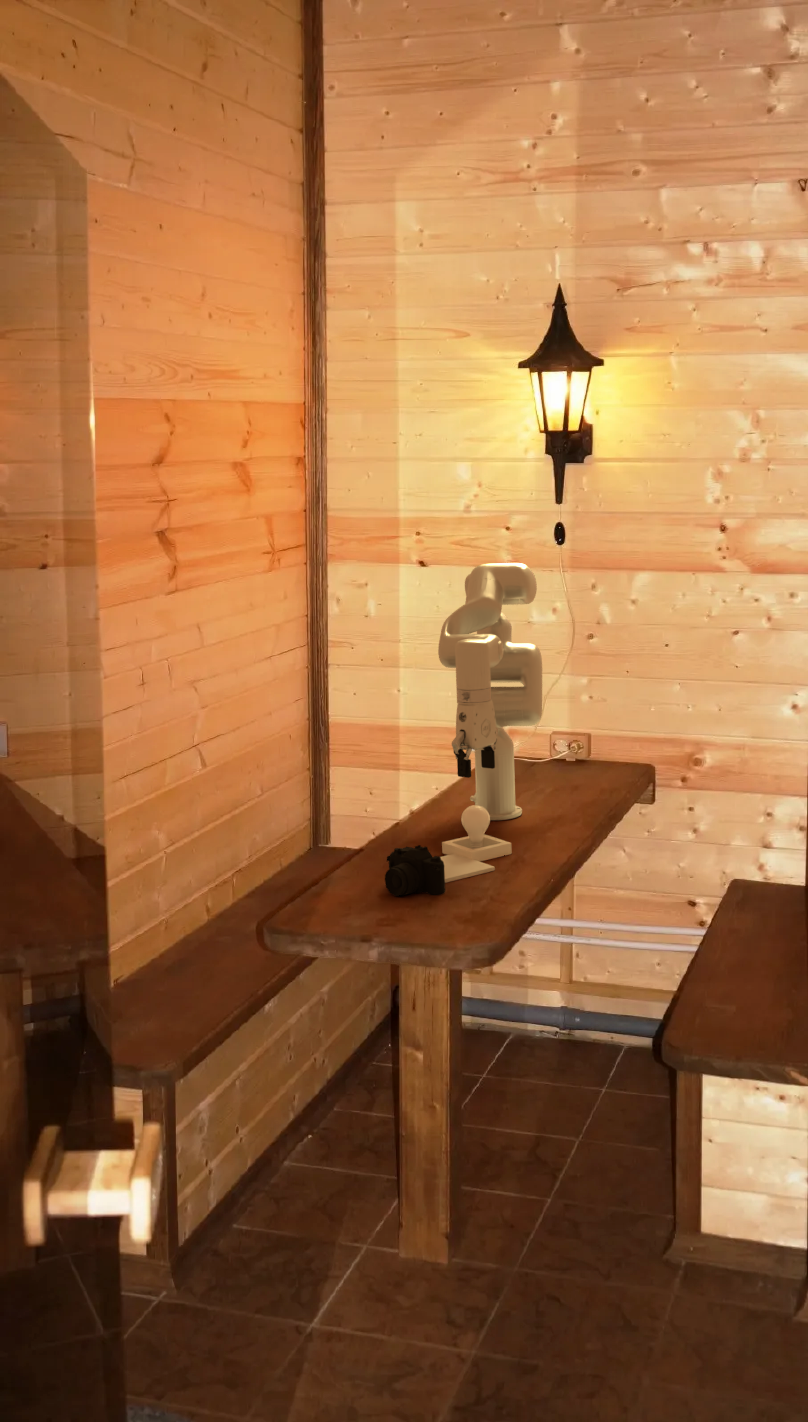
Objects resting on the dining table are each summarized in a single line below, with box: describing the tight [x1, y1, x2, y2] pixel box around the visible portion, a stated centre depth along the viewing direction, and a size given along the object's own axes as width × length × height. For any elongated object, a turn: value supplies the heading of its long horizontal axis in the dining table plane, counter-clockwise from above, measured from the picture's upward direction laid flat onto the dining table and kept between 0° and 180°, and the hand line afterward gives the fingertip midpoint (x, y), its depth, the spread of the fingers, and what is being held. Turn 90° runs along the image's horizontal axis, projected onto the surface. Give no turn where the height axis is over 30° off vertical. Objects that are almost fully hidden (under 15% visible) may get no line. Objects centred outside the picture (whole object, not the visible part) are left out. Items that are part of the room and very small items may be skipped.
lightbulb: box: [460, 804, 491, 849], centre depth 325 cm, size 6×6×11 cm
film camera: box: [384, 845, 446, 897], centre depth 301 cm, size 15×10×9 cm, turn 44°
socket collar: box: [441, 833, 513, 862], centre depth 326 cm, size 11×11×2 cm
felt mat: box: [439, 854, 496, 884], centre depth 315 cm, size 14×14×1 cm
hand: (476, 772), depth 323 cm, fingers open, 9 cm apart
